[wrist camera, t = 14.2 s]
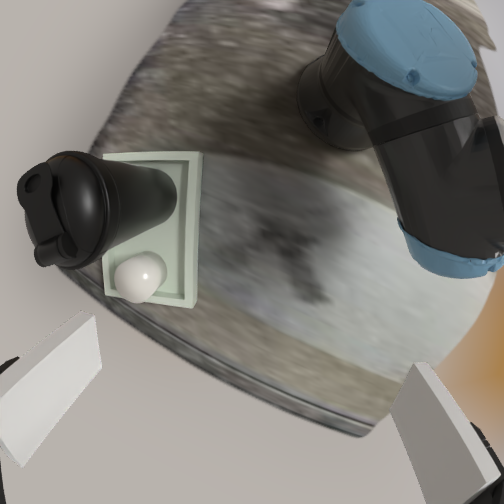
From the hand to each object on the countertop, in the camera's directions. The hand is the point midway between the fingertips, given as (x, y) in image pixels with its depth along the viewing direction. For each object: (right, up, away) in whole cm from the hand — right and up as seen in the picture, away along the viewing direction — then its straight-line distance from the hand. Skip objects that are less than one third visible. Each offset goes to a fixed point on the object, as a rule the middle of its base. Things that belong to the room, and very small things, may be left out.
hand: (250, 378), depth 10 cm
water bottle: (-15, +13, +29) cm, 35 cm away
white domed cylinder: (-16, +2, +31) cm, 35 cm away
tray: (-15, +9, +31) cm, 35 cm away
